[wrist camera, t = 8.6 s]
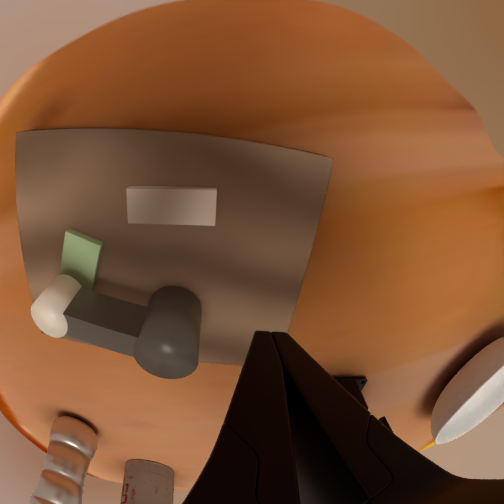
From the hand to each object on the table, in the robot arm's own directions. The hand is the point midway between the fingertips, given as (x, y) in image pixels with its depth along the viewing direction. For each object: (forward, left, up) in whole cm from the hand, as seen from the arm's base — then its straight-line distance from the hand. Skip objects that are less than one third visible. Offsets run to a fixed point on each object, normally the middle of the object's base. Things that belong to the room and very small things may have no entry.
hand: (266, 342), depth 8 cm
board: (-4, +5, -12) cm, 14 cm away
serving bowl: (-19, -39, -12) cm, 44 cm away
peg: (-6, +7, -10) cm, 13 cm away
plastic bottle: (-31, +17, -12) cm, 37 cm away
